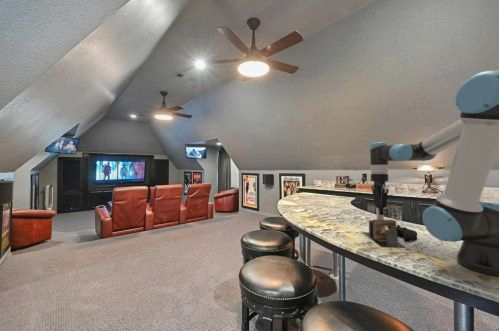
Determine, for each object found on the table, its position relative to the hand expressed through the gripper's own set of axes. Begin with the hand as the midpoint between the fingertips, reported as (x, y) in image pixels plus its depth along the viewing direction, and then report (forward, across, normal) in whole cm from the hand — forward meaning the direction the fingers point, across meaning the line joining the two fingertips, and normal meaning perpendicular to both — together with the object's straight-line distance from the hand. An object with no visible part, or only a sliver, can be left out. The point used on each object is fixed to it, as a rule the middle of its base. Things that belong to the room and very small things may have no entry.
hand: (380, 220), depth 109 cm
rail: (+9, -1, 0) cm, 9 cm away
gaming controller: (+10, +4, -12) cm, 16 cm away
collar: (+9, -4, 0) cm, 10 cm away
